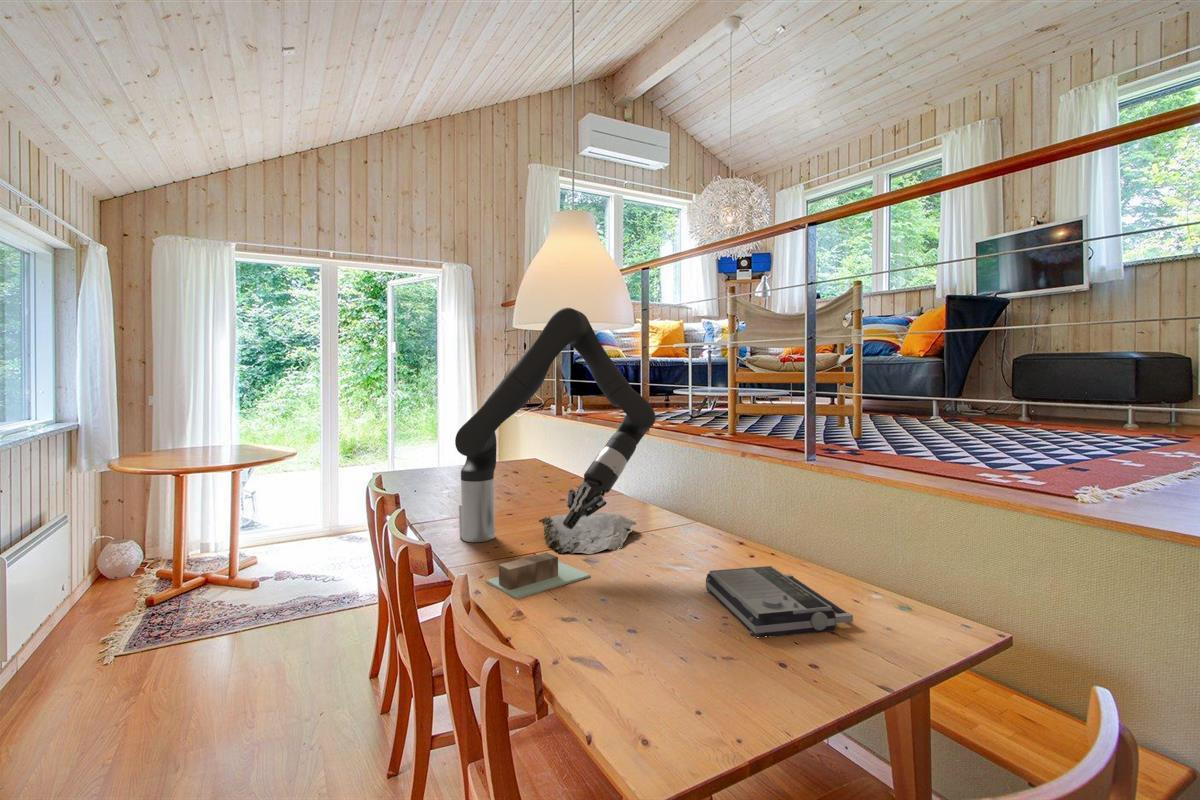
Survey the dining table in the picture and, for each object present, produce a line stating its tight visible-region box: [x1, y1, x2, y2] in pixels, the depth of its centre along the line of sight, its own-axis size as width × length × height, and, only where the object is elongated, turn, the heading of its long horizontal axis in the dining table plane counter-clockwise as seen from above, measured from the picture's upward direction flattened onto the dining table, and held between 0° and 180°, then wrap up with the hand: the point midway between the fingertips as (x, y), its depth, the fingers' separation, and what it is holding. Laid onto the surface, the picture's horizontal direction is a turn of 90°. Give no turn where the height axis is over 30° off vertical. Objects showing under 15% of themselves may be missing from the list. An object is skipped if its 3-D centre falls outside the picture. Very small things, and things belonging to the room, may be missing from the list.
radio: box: [705, 565, 854, 638], centre depth 117 cm, size 24×5×20 cm
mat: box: [485, 560, 591, 600], centre depth 135 cm, size 20×13×1 cm, turn 130°
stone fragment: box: [538, 511, 637, 555], centre depth 167 cm, size 25×29×6 cm
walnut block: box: [498, 552, 559, 590], centre depth 133 cm, size 4×4×13 cm
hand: (567, 526), depth 139 cm, fingers closed
